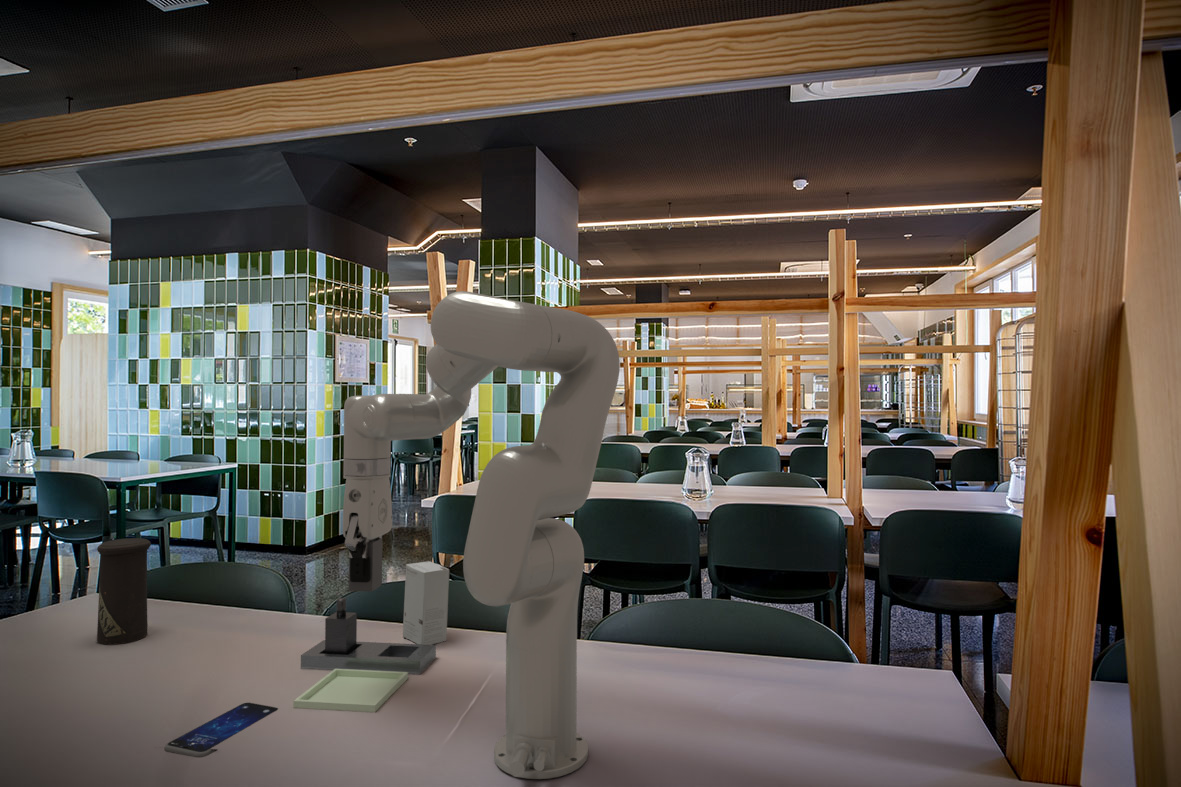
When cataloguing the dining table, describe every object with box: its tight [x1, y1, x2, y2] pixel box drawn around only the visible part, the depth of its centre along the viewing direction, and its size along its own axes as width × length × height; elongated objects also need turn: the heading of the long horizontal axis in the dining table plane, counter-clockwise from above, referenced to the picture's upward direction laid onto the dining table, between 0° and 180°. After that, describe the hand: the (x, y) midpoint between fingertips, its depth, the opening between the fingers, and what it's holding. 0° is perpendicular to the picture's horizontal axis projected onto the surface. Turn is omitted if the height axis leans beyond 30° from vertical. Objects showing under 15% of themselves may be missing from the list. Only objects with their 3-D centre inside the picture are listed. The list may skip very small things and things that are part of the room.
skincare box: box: [402, 560, 450, 645], centre depth 139 cm, size 8×6×15 cm
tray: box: [292, 669, 409, 713], centre depth 112 cm, size 13×13×2 cm
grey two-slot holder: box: [300, 597, 437, 675], centre depth 125 cm, size 8×22×12 cm, turn 83°
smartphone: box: [164, 702, 279, 758], centre depth 100 cm, size 7×1×15 cm
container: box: [96, 537, 152, 645], centre depth 139 cm, size 9×9×20 cm
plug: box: [348, 535, 383, 592], centre depth 115 cm, size 4×4×11 cm
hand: (366, 577), depth 115 cm, fingers closed on plug, 4 cm apart
